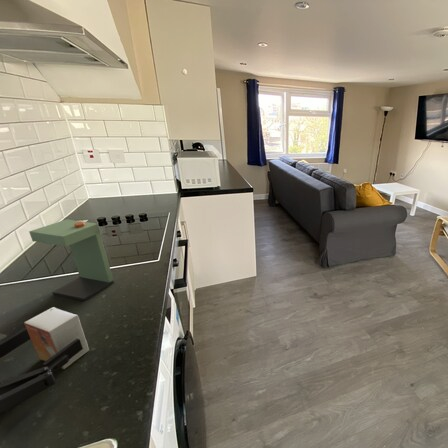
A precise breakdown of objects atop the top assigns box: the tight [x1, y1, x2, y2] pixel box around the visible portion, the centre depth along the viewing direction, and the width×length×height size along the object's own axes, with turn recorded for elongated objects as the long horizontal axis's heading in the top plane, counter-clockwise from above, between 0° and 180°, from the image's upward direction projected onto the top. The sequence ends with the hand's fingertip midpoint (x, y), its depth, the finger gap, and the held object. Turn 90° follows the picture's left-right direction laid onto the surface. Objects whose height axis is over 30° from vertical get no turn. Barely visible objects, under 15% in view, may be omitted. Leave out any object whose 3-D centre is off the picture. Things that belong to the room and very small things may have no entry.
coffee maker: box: [28, 219, 115, 302], centre depth 79 cm, size 12×10×22 cm
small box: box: [23, 306, 90, 370], centre depth 58 cm, size 8×6×10 cm
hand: (55, 337), depth 57 cm, fingers open, 13 cm apart
